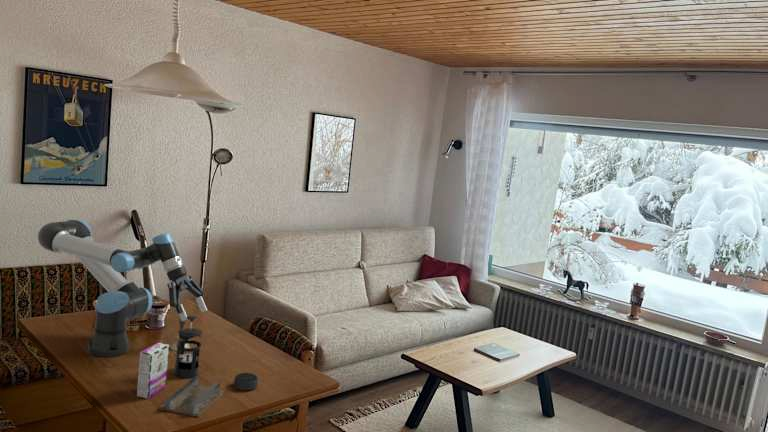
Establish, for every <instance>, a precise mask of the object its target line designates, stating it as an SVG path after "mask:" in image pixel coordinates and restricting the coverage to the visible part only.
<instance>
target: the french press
mask: <svg viewBox="0 0 768 432" xmlns="http://www.w3.org/2000/svg"><path fill="white" fill-rule="evenodd" d="M186 318H187V320H189V321H190V327H189V328H188V327H187V328H184V329H181V330H180V329H178V331H177V334H178V335H179V338H180V339H181V340H178V343H177V351H176V357H175V364H174V370H173V373H172V374H173V376H174V377H176V378H179V379H186V380H187V379H193V378H197V376H199V373H200V372H199V370H200V368H199V367H200V365H199V359H200V353H201V352H200V351H201V349H202V343H201V342H200V341H197V340H194V339H193V340H192V338H196V337H199V338H200V339H201V338H202V335H203V334H204V333H203V330H201V329H197V328H193V327H192V326H193V325H192V324H193V322H194V321H195V320H198V317H197V316H194V315H187V317H186ZM187 343H188V345H189V346H190V348H189V346H188V348H185V344H187ZM191 344H192V345H196V347H192V348H191ZM185 352H187V353H185ZM191 353H192V354H191Z"/></svg>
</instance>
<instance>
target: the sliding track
mask: <svg viewBox="0 0 768 432" xmlns="http://www.w3.org/2000/svg"><path fill="white" fill-rule="evenodd" d="M220 387H221V382H220V381H215V382H214V383H213V384H212V385H211V386H206V385H202V384H199V377H194V378H191V380H189V381H188V382H187V383H186V384H184V385H183V386H182V387H181V388H179V389H178V390H177V391H176V392H175V393H173V394H172V395H171V396H170V397H169V398H167V399H166V400H165V401H164V402H163V403H162V404H161V405H160V406H159V410H160V411H161V410H162V411H166V412H171V413H175V414H180V415H181V414H182V415H185V416H191V417H196V418H200V417H201V416H202V415H203V414H204V413H205V412H206V411H207V410H208V409H209V408H210V407H211V406H212V405H213V404H214V403H215V402H216V401H217V400H218V399H219V398H220V397H221V396H222V395H223V394H224V393H225V389H221V388H220Z"/></svg>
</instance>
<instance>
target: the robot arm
mask: <svg viewBox="0 0 768 432" xmlns="http://www.w3.org/2000/svg"><path fill="white" fill-rule="evenodd" d="M37 241H38V243H39V245H40V246H41V247H42V248H43V249H45V251H46V250H47V251H50V252H53V253H55V254H62V253H64V254H68V255H69V256H71V257H72V256H73V257H74V256H75V257H76V258H77V260H79V261H80V263H81V264H82V265H83V266H84V267H85V268H86V269H87V270H88V271H89V273H90V274H91V275H92V276H93V277H94V278H95V280H97V281H98V282H99V284H100V285H101V286H102V287H103V288H104V289H105V290H106V291H107V292H104V293H101V294H100V295H99V296H98V298H97V300H96V304H95V317H94V318H95V320H94V331H93V334H92V336H91V338H90V340H89V343H88V345H87V346H88V347H87V352H88V353H89V354H90V355H93V356H95V357H100V358H101V357H103V358H104V357H105V358H110V357H118V356H123V355H125V354H127V353H128V352H129V350H130V349H129V348H130V343H129V339H128V336H127V332H126V331H127V322H128V321H131V320H134V319H136V318H139V317H143V316H144V315H146V314H147V313H148V312H150V311H151V308H152V307H153V296H152V293H151V292H150V290H149V289H147V288H146V287H139V286H138V285H137V284H136V283H135V282H134V281H128V280H127V279H126V278H125V276H123V275H122V274H121V273H126V272H129V271H132V270H133V271H134V270H136V269H138V270H142V269H144V268H147V267H149V266H151V265H154V264H155V263H157V262H160V261H161V263H162V266H163V269H164V272H166V277H167V278H168V280H169V281H170V282H169V283H167V289H168V294H169V295H168V297H169V306H170V307H171V308H175V310H176V313H177V314H178V315H179V319H180V318H181V320H182V321H184V320H186V321H187V320H188V319H187V318H186V317H187V316H188V315H187V312H186V310H185V309H184V305H183V304H182V303H181V301H182V300H181V298H182V291H183V290H185V291H186V290H187V291H188V292H189V293H191V294H192V295H193V296H195V300H196V302H197V305H198V308H199V310H200V312H201V313H204V312H206V311H208V308H207V306H206V304H205V300H204V298H203V296H204V295H205V291H204V290H203V289H202V287H201V286H200V285H199V284H198V283H197V282H196V280H195V279H194V277H193V276H192V274H191V275H188V276H187V273H188V272H187V270H186V268H185V266H183V265H184V263H183V260H182V258H181V255H180V253H179V251H178V249H177V246H176V244H175V241H174V239H173V237H172V235H171V233H169V232H164V233H160V234H158V235H156V236H154V237H153V238H152V243H151V244H150V245H148V246H145V247H143V248H140V249H133V250H129V251H128V250H123V249H120V248H116V247H113V246H110V245H107V244H104V243H99V242H96V241H94V237H93V234H92V228H91V227H90V225H89V224H88V223H86V222H85V221H83V220H79V219H68V220H64V221H56V222H55V221H53V222H48V223H47V224H44V225H43V226H42V227H41V228H40V229H39V231H38V233H37Z"/></svg>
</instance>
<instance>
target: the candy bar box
mask: <svg viewBox="0 0 768 432" xmlns="http://www.w3.org/2000/svg"><path fill="white" fill-rule="evenodd" d="M169 351H170V344H167V343H163V342H156V343H155V344H153V345H151V346H150V347H147V348H145V349H144V350H141V351H140V352H139V362H138V373H137V374H138V375H137V386H136V397H138V398H140V399H141V398H142V399H147V400H149V399H151V398H152V397H154V396H155V395H156V394H159V392H161V391H162V390H164V389H165V388H167V376H168V365H169Z"/></svg>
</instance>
